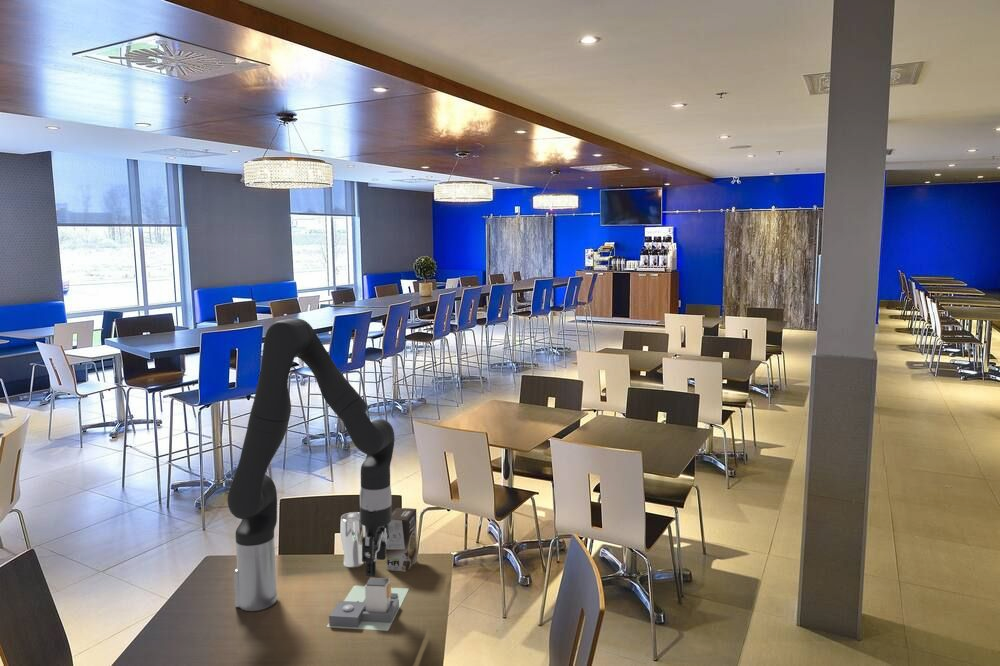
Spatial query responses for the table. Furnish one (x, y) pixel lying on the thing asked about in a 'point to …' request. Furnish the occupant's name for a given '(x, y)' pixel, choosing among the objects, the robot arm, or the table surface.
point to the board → (376, 618)
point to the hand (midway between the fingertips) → (376, 567)
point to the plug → (378, 595)
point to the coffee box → (402, 540)
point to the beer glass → (352, 539)
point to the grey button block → (347, 614)
